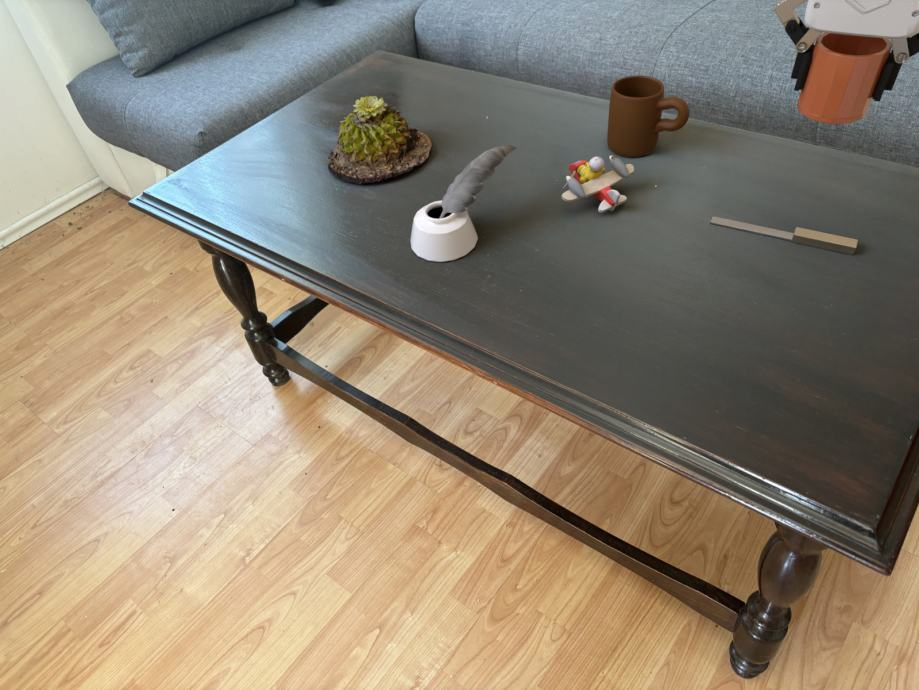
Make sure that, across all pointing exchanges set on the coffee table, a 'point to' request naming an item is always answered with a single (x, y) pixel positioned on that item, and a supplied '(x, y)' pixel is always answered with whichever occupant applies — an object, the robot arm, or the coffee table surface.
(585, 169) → the toy airplane
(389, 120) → the cactus
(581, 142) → the coffee table surface
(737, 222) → the knife
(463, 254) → the inkwell
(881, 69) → the pot
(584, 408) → the coffee table surface
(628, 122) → the mug
